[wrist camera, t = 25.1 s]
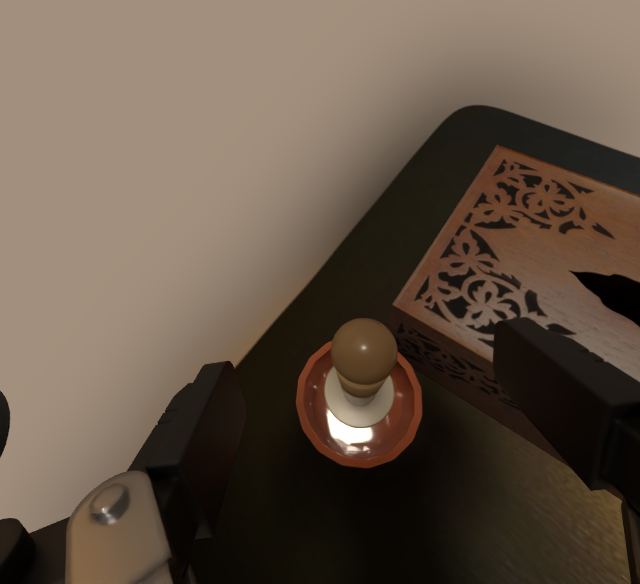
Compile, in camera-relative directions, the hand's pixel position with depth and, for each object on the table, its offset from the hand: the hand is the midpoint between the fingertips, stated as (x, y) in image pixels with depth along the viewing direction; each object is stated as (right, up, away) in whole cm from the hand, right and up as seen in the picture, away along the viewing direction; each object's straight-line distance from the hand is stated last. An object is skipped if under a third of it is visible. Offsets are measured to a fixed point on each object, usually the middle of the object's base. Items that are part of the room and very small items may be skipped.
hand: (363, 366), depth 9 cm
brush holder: (+2, -7, +16) cm, 17 cm away
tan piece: (+2, -6, +15) cm, 17 cm away
